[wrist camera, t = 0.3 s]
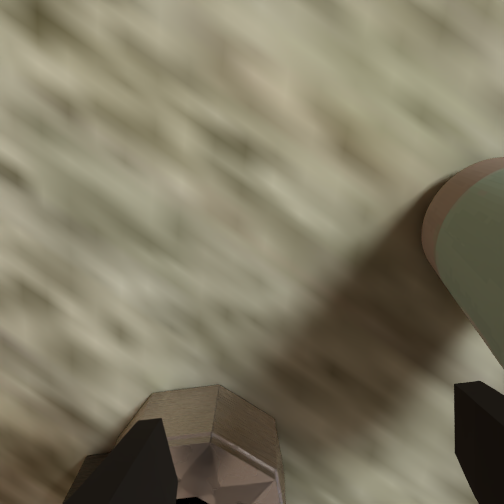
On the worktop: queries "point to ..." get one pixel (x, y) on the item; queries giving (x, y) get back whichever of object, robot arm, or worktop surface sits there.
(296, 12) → the worktop surface
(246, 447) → the grey octagonal hollow piece
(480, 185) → the coffee cup
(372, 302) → the worktop surface
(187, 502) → the worktop surface
